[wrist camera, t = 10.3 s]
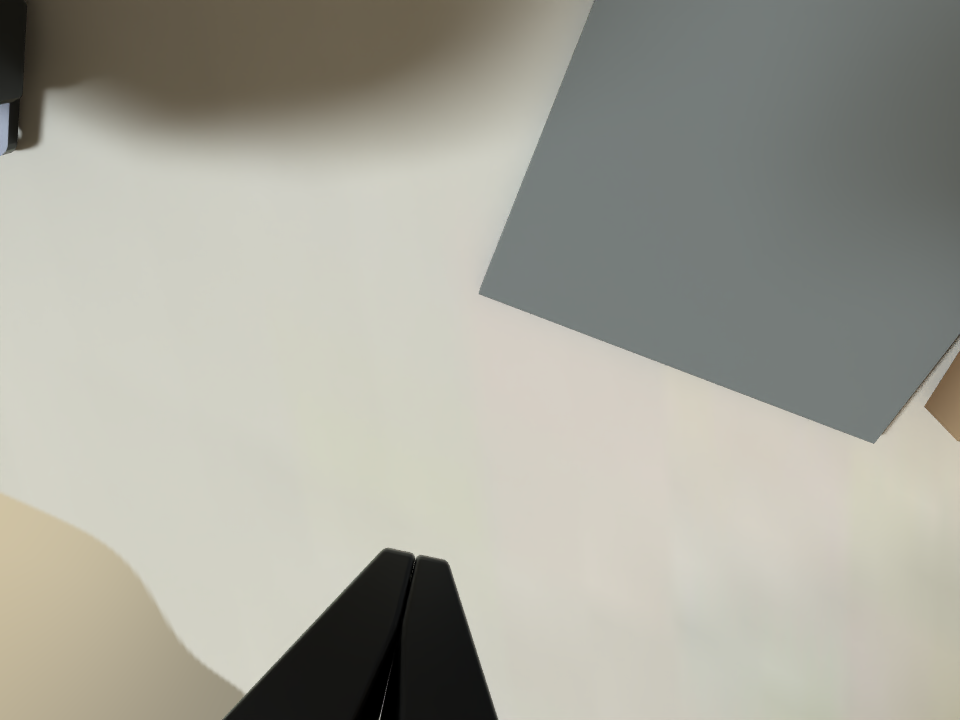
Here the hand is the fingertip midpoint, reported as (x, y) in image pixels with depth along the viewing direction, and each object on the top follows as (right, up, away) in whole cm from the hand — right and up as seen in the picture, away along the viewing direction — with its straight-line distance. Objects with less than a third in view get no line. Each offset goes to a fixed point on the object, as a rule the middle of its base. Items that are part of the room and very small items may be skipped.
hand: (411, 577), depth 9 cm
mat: (+9, +8, +10) cm, 15 cm away
